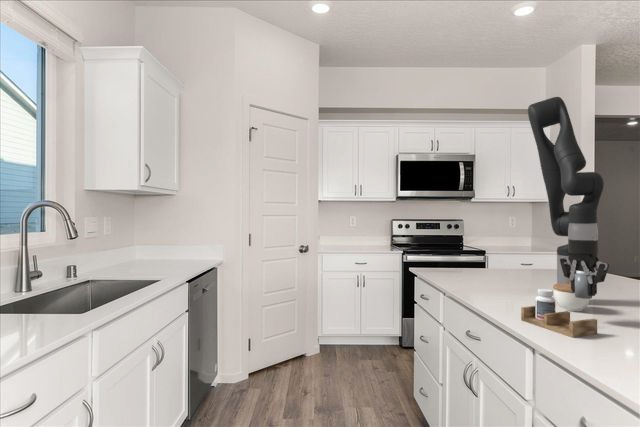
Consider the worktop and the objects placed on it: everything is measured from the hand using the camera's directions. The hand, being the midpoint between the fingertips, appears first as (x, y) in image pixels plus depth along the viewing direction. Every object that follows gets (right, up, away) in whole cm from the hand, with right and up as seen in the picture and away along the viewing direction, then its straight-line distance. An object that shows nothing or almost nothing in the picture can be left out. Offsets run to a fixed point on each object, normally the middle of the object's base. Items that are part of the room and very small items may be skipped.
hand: (583, 293), depth 117 cm
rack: (-11, -9, -5) cm, 15 cm away
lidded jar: (+6, -9, +14) cm, 18 cm away
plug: (0, -1, 0) cm, 1 cm away
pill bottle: (-12, -8, -1) cm, 14 cm away
